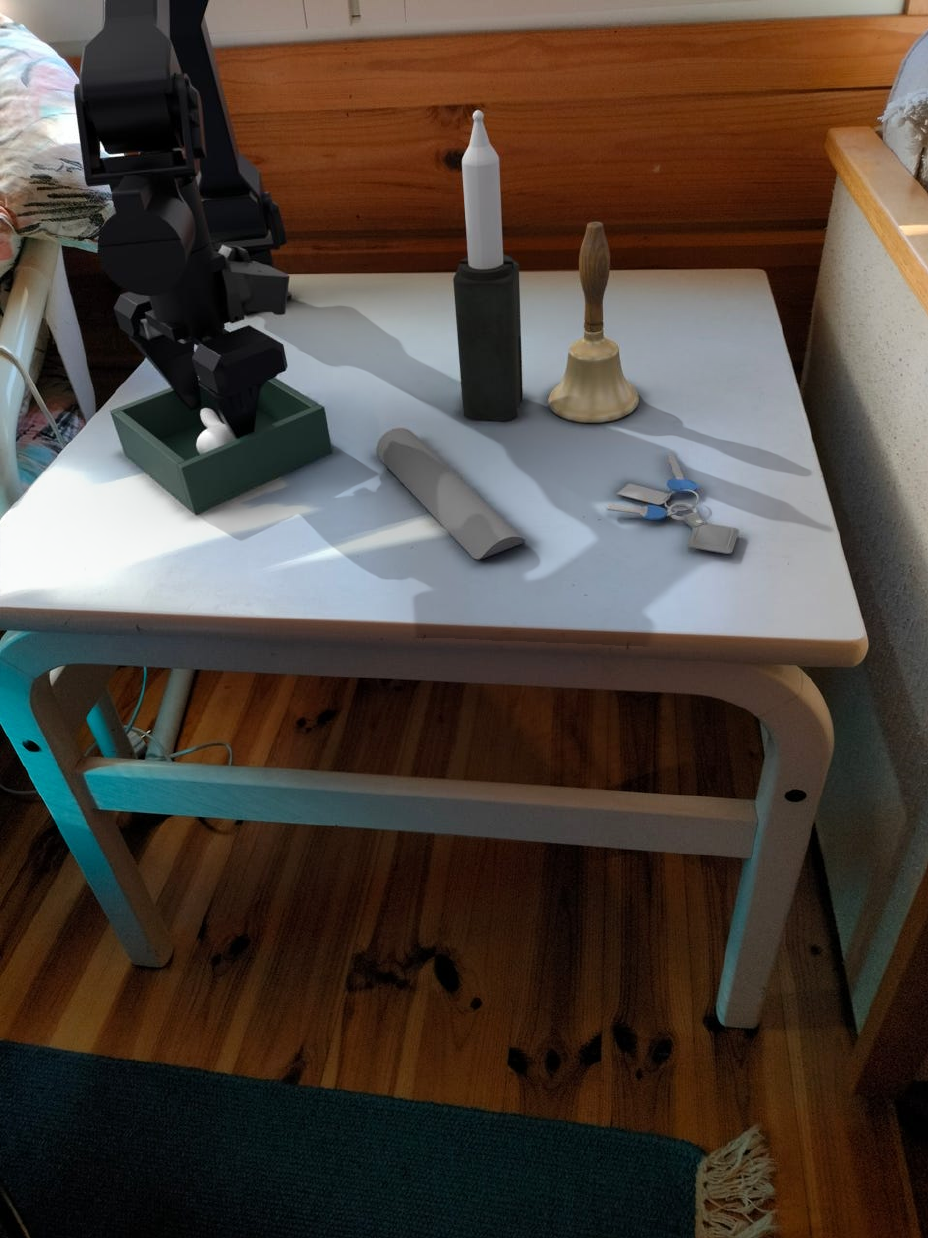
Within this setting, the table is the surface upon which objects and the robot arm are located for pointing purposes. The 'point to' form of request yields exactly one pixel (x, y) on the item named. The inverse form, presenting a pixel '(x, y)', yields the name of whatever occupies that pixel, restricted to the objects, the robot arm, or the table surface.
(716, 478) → the table surface
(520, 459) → the table surface
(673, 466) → the key chain
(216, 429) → the rabbit figurine
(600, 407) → the hand bell
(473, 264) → the candle
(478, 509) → the half round rod
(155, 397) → the bin
